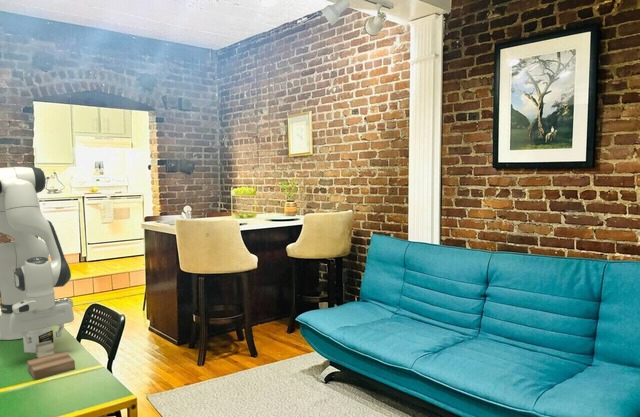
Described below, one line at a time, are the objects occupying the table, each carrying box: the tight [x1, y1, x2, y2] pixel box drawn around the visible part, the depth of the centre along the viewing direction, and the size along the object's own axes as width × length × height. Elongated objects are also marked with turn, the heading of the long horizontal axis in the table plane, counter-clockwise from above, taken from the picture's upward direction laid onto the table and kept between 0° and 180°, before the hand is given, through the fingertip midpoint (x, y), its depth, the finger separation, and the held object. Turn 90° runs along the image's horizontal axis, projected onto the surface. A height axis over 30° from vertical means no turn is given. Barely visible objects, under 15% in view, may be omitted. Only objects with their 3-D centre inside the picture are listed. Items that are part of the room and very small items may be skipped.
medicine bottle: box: [22, 328, 55, 354], centre depth 182 cm, size 7×7×12 cm
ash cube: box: [35, 341, 55, 358], centre depth 175 cm, size 5×5×5 cm
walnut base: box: [26, 350, 76, 381], centre depth 164 cm, size 12×12×3 cm
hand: (44, 339), depth 174 cm, fingers open, 8 cm apart
